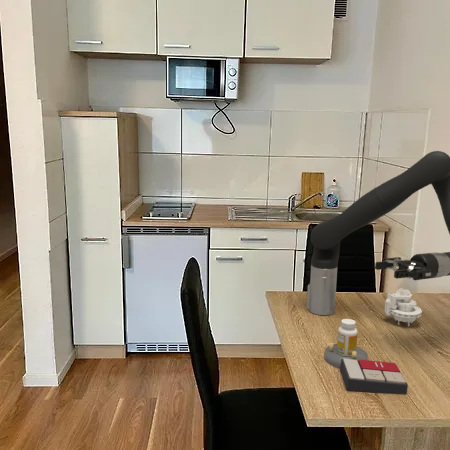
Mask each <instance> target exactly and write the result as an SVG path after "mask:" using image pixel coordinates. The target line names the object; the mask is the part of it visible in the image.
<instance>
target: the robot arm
mask: <svg viewBox="0 0 450 450" xmlns="http://www.w3.org/2000/svg"><path fill="white" fill-rule="evenodd" d="M429 185H431V186H432V188H433V190H434V192H435V194H436V197H437V199H438V202H439V205H440V208H441V209H440V210H441V212H442V216H443V220H444V223H445V226H446V229H447V231H448V234H449V235H450V155H449V154H447V152H444V151H441V150H434V151H430V152H429V153H427V154H425V155H424V156H423V157H421V158H420V159H419V160H418V161H416V162H415V163H414V164H413V165H411V166H410V167H409V168H408V169H407V170H405V171H403V172H402V173H400V174H398V175H396V176H395V177H393V178H391V179H389V180H387V181H385V182H383V183H381V184H380V185H378V186H376V187H373V189H371V190H369V191H367V192H366V193H365V194H363V195H362V196H361V197H359V198H358V199H357V200H355V201H354V202H353V203H352V204H351V205H349V206H348V207H347V208H346V209H344V211H342V212H341V213H339V214H338V215H337V216H334V217H332V218H330V219H328V220H322V221H320V222H319V223H318V224H316V226H315V225H314V227H313V229H312V231H311V233H310V241H311V244H312V245H313V252H312V256H311V262H310V281H309V283H308V285H307V292H306V310H308V311H309V312H310V313H312V314H314V315H319V316H331V315H333V314H334V313H335V308H336V295H337V279H338V262H339V258H340V250H341V248H340V247H341V241H342V240H343V239H344V238H346V237H347V236H348V235H350V234H352V233H353V232H354V231H357V230H359V229H361V228H363V227H366V226H367V225H369V224H371V223H372V222H373V223H374V221H376V220H379V219H380V218H382V217H383V216H385V215H387V214H388V213H390V212H392V211H393V210H394V209H396V208H398V207H399V206H400V205H401V204H403V203H404V202H405V201H406V200H407V199H409V198H410V197H411V196H412V195H413V194H415V193H416V192H418V191H419V190H421V189H424V188H425V187H428V186H429ZM397 267H398V268H397ZM374 269H375V270H377V271H379V270H380V271H381V270H392V271H393V277H394V279H405V278H406V279H412V280H413V281H422V280H428V279H437V278H442V277H447V276H450V251H448V252H447V251H446V252H425V253H424V252H423V253H416V254H414V255H413V256H412V257H411V258H410V259H407V258H405V259H402V257H398V256H396V257H384V258H383V259H382V261H376V262H375V263H374Z"/></svg>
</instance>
